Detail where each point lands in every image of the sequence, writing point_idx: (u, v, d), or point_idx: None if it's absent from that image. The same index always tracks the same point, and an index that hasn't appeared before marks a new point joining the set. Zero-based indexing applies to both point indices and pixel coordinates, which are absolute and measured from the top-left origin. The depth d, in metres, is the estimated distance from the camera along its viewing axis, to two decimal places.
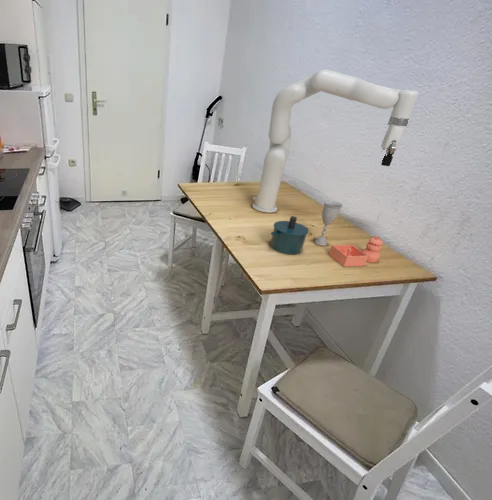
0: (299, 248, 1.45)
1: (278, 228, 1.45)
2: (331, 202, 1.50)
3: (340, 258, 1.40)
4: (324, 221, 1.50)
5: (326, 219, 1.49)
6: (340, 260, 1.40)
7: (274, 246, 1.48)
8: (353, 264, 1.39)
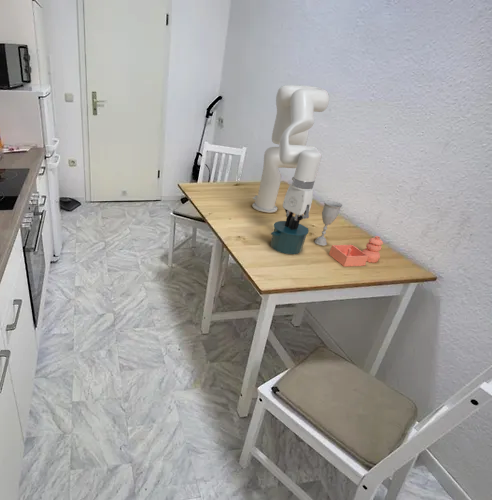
0: (299, 248, 1.45)
1: (278, 228, 1.45)
2: (331, 202, 1.50)
3: (340, 258, 1.40)
4: (324, 221, 1.50)
5: (326, 219, 1.49)
6: (340, 260, 1.40)
7: (274, 246, 1.48)
8: (353, 264, 1.39)
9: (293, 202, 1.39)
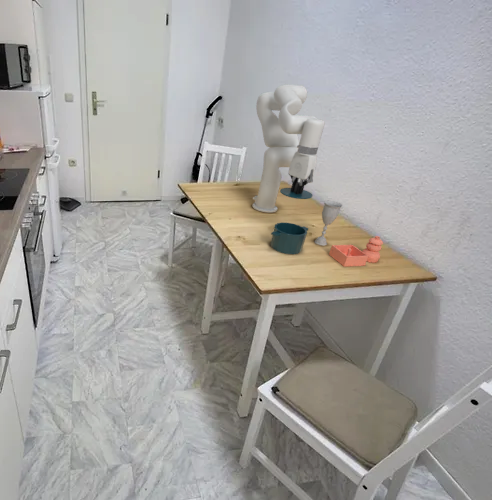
0: (299, 248, 1.45)
1: (284, 193, 1.57)
2: (331, 202, 1.50)
3: (340, 258, 1.40)
4: (324, 221, 1.50)
5: (326, 219, 1.49)
6: (340, 260, 1.40)
7: (274, 246, 1.48)
8: (353, 264, 1.39)
9: (298, 168, 1.52)
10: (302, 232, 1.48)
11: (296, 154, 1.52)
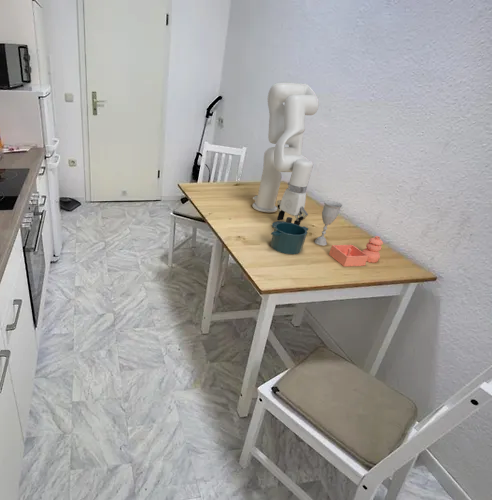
0: (299, 248, 1.45)
1: None
2: (331, 202, 1.50)
3: (340, 258, 1.40)
4: (324, 221, 1.50)
5: (326, 219, 1.49)
6: (340, 260, 1.40)
7: (274, 246, 1.48)
8: (353, 264, 1.39)
9: (288, 204, 1.60)
10: (302, 232, 1.48)
11: (286, 191, 1.60)
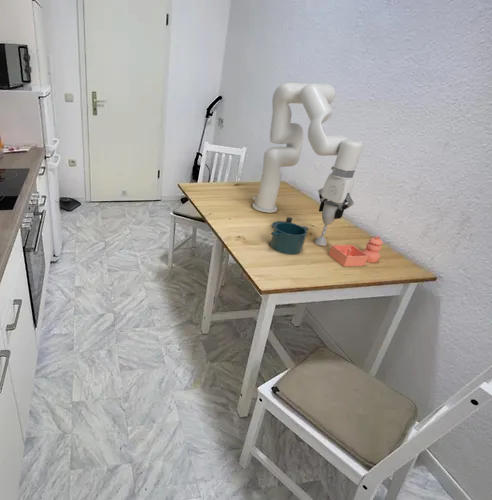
0: (299, 248, 1.45)
1: None
2: (331, 202, 1.50)
3: (340, 258, 1.40)
4: (324, 221, 1.50)
5: (326, 219, 1.49)
6: (340, 260, 1.40)
7: (274, 246, 1.48)
8: (353, 264, 1.39)
9: (333, 191, 1.43)
10: (302, 232, 1.48)
11: (330, 176, 1.43)
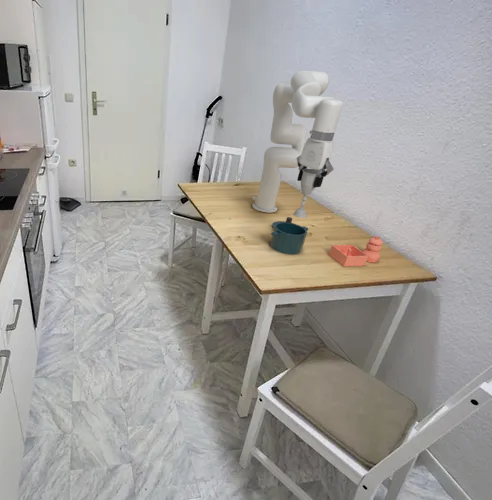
0: (299, 248, 1.45)
1: None
2: (311, 170, 1.39)
3: (340, 258, 1.40)
4: (303, 191, 1.39)
5: (304, 188, 1.38)
6: (340, 260, 1.40)
7: (274, 246, 1.48)
8: (353, 264, 1.39)
9: (311, 156, 1.32)
10: (302, 232, 1.48)
11: (309, 141, 1.32)
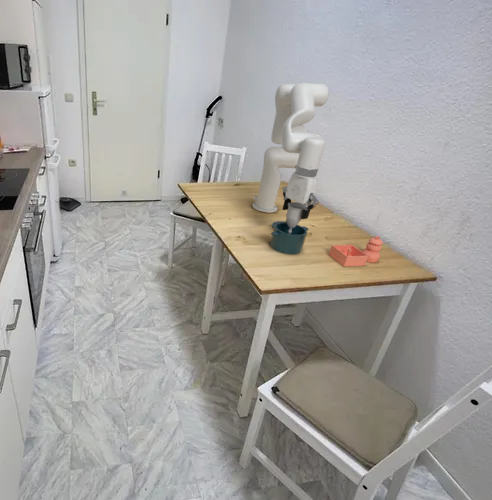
0: (299, 248, 1.45)
1: None
2: (296, 204, 1.45)
3: (340, 258, 1.40)
4: (288, 224, 1.45)
5: (290, 222, 1.43)
6: (340, 260, 1.40)
7: (274, 246, 1.48)
8: (353, 264, 1.39)
9: (296, 191, 1.37)
10: (302, 232, 1.48)
11: (294, 176, 1.37)
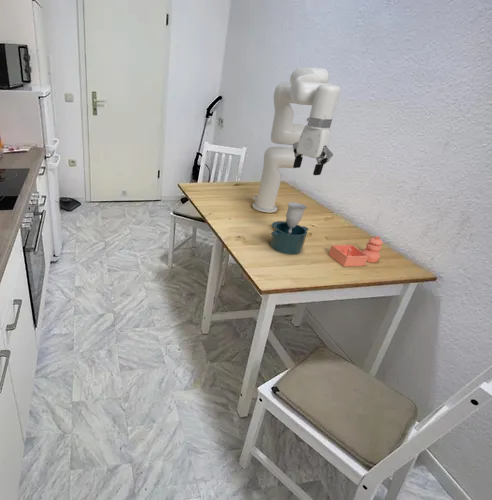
0: (299, 248, 1.45)
1: None
2: (296, 204, 1.45)
3: (340, 258, 1.40)
4: (288, 224, 1.45)
5: (290, 222, 1.43)
6: (340, 260, 1.40)
7: (274, 246, 1.48)
8: (353, 264, 1.39)
9: (308, 144, 1.29)
10: (302, 232, 1.48)
11: (306, 128, 1.29)
